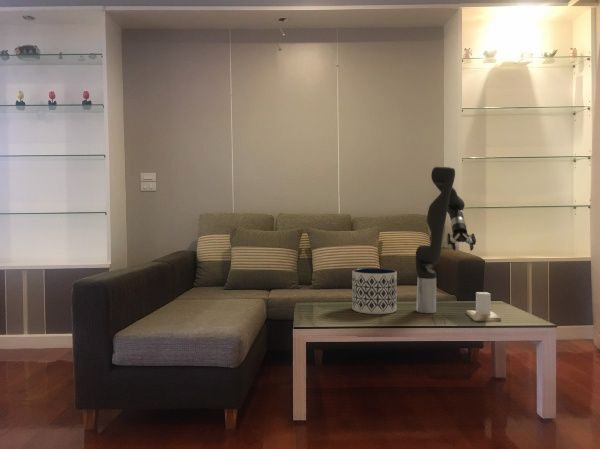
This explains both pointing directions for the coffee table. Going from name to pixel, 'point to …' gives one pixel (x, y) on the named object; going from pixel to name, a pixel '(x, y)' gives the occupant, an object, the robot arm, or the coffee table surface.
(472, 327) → the coffee table surface
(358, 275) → the planter
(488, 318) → the stub plate
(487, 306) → the block
